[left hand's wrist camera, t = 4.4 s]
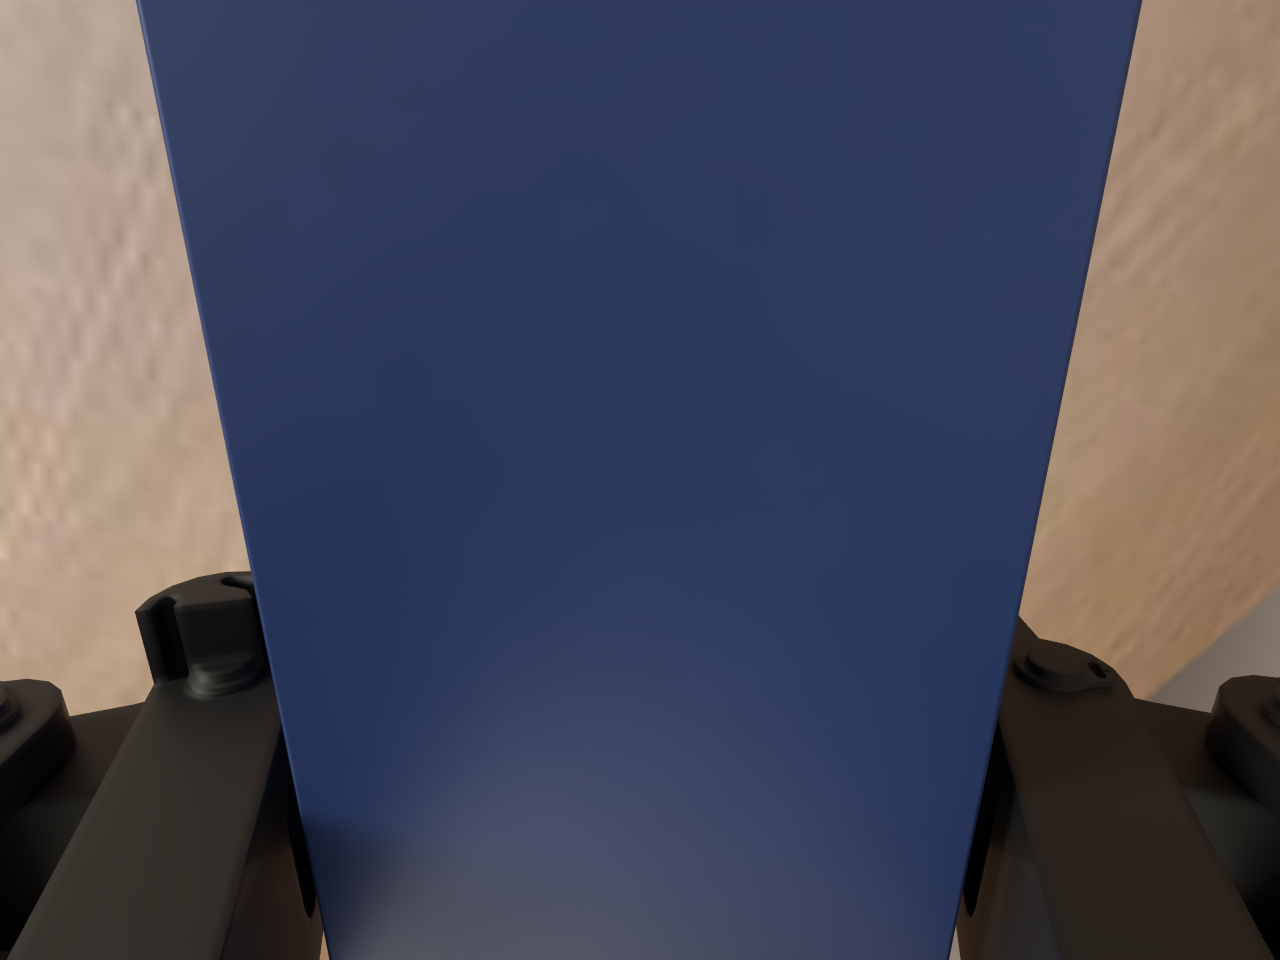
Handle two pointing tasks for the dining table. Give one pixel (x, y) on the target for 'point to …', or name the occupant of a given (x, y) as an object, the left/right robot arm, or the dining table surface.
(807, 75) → the bar
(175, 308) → the dining table surface
